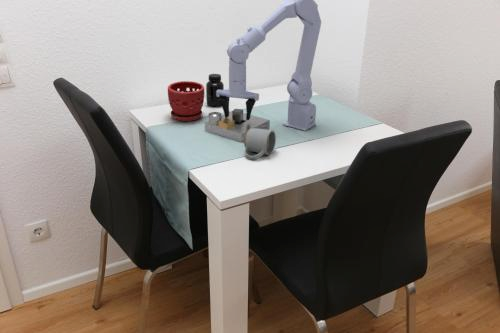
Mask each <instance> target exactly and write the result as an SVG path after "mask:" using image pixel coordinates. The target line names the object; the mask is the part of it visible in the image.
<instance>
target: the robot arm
mask: <svg viewBox="0 0 500 333" xmlns="http://www.w3.org/2000/svg"><path fill="white" fill-rule="evenodd" d="M318 7H319V4H317V2H316V1H315V0H284V1H283V2H282V3H281V4H280V5H279V6H278V7H277V8H276V9H274V11H273V12H272V13H271V14H270V15H269V16H268V17H267V18H266V19H265V20H264V21H263V22H262V23H261V24H260V25H253V26H249V27H248V28H247V29H246V30H247V31H246V32H245V33H243V35H241V37H237V38H236V39H235V40H236V41H233V42H231V43H230V44H229V45H228V46H227V47H228V48H227V49H226V55H228V57H229V58H228V59H229V60H228V64H229V65H228V89H224V90H217V91H216V96H217V97H219V99H218V100H219V102H220V104H221V107H222V110H223V115H224V114H225V118H227V117H228V116H229V112H230V98H233V99H241V100H242V99H245V100H246V101H245V107H246V109H245V110H246V120H249V119H250V115H252V112H253V108H254V106H255V104H256V102H257V101H259V100H260V93H258V92H253V91H252V92H251V91H249V90H247V60H248V59H249V56H250V53H252V52H254V51H255V49H256V48H257V47H259V46H260V45H261V44H262V43H263V42H264V41H266V38H267V34H269V32H270V31H272V30H273V29H274V28H276V27H277V26H278V25H279V24H280V23H282V22H283V21H284V20H286V19H293V18H298V19H299V20H300V22H302V24H303V30H302V35H301V42H300V47H299V51H298V56H297V61H296V66H295V71H294V73H293V74H291V78H290V81H288V83H287V86H286V89H287V90H286V91H287V93H288V95H289V97H288V106H287V107H288V108H287V120H286V121H284V122H283V123H282V125H283V126H286V127H290V128H293V129H296V130H301V131H304V132H305V131H307V130H309V129H310V128H312V127H314V126H316V125H317V123H316V119H317V118H316V116H317V106H316V104H315V103H312V102H311V99H312V98H313V89H312V85H313V82H312V81H313V80H312V77H311V74H312V68H313V64H314V60H315V59H314V58H315V55H316V50H317V45H318V40H319V35H320V32H321V28H322V27H321V25H322V20H321V15H320V12H319V9H318Z"/></svg>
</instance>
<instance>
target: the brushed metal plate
mask: <svg viewBox="0 0 500 333" xmlns="http://www.w3.org/2000/svg"><path fill="white" fill-rule="evenodd" d="M232 111H233V110H231V111H229V116H228V117H227V118H225V114H224V113H223V114H222V113H221V112H220V111H212V112H209V113H208V120H207V121H206V122H204V131H205V132H208V133H211V134H214V135H217V136H219V137H224V138H227V139H230V140H233V141H236V142H240V143H244V138H245V135H246V132H247V131H248V130H249V129H254V128H256V129H265V130H270V124H271V122H270V119H268V118H264V117H260V116H256V115H253V114H251V115H250V119H249V120H246V114H247V112H243V123H242V124H239V125H238V124H235V120H232Z"/></svg>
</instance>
